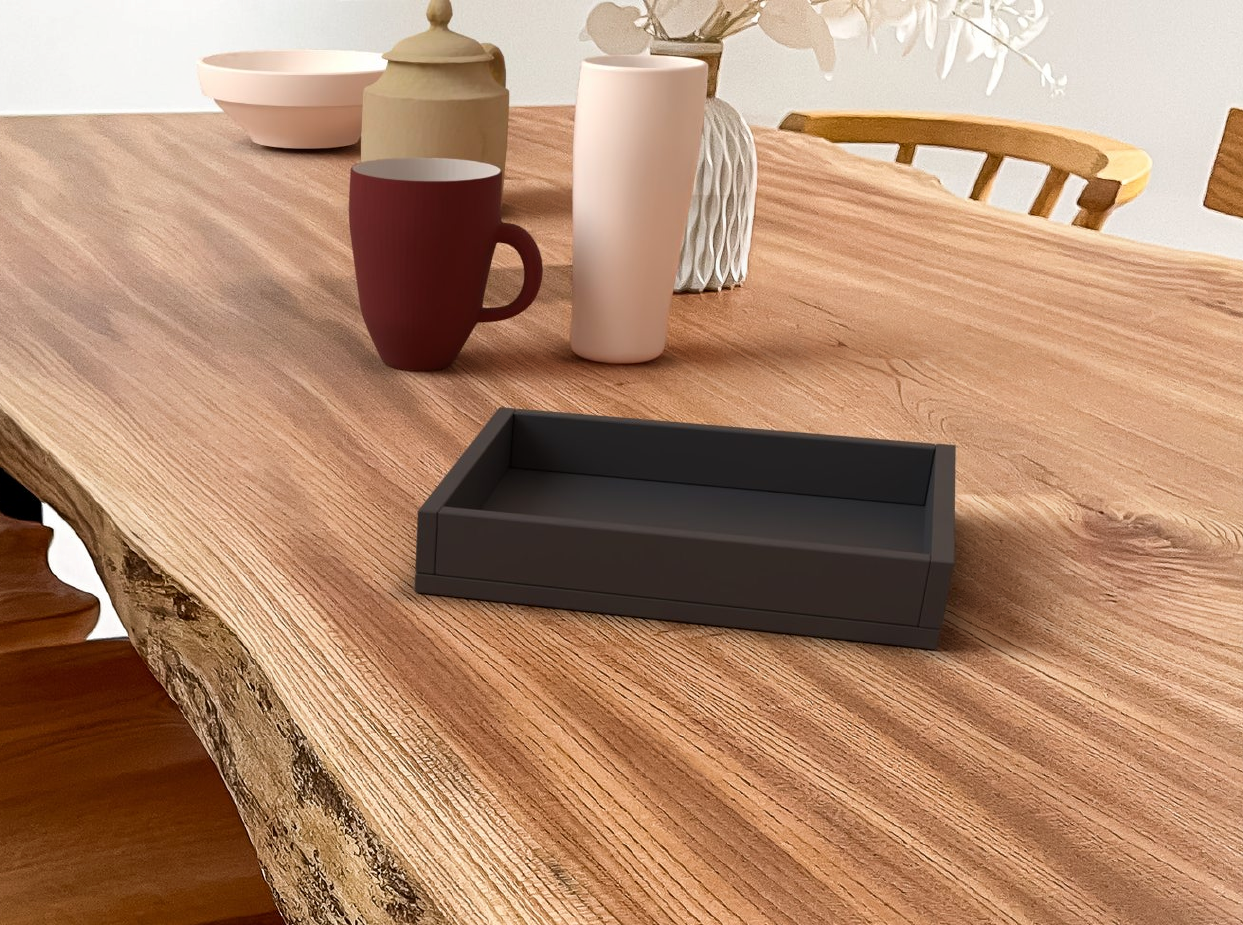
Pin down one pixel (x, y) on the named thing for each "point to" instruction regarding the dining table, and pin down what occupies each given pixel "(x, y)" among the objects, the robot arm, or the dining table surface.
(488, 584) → the tray
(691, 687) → the dining table surface
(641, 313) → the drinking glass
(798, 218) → the dining table surface
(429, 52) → the sugar bowl
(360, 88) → the bowl
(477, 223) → the mug
